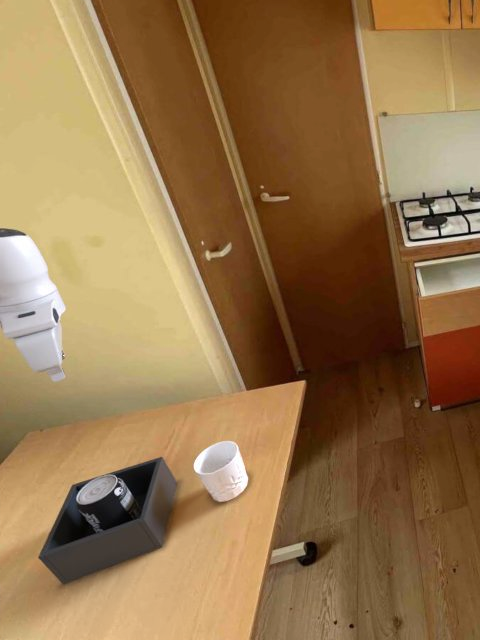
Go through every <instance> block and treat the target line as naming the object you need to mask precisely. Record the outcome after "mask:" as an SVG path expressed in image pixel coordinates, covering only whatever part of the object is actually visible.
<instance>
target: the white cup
mask: <svg viewBox="0 0 480 640" xmlns="http://www.w3.org/2000/svg"><path fill="white" fill-rule="evenodd" d="M192 467H193V471H194V472H195V474H196V475H197V477H198V478H199V480H200V482H201V484H202V485H203V486H204V488H205V489H206V491H207V492H208V493H209V494H210V495H211V497H212V499H213V500H214V501H216V502H218V503H222V502H223V503H224V502H229V501H230V500H233V499H235V498H237V497H238V496H240V495H241V493H243V492H244V490H245V489H246V487H247V486H248V482H249V476H248V474H247V472H246V467H245V464H244V459H243V457H242V454H241V452H240V448H239V446H238V444H237V443H236V442H235V441H232V440H223V441H219V442H216V443H213V444H212V445H209V446H208V447H206V448H205V449H203V451H201V452H200V453H199V454H198V456H197V457H196V458H195V460H194V462H193V466H192Z"/></svg>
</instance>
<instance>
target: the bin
mask: <svg viewBox="0 0 480 640" xmlns="http://www.w3.org/2000/svg"><path fill="white" fill-rule="evenodd" d="M104 475H114V476H116V477H117V478H120V479H122V480H123V482H124V483H125V485H126V486H127V488H128V489H129V491H130V492H131V494H132V495H133V497H134V498H135V500H136V501H137V503H138V504H139V506H140V507H141V509H142V513H141V517H140V518H139V519H136V520H133V521H130V522H127V523H125V524H122V525H119V526H116V527H113V528H110V529H108V530H105V531H102V532H99V533H97V532H96V531H95V530H94V529H93V527H92V526H91V525H90V523H89V522H88V521H87V520H86V518H85V517H84V516H83V515H82V513H81V512H80V511H79V509H78V508H77V500H76V497H77V494H78V493H79V491H80V490H81V489H82V488H83V487H84V486H85V485H86V484H88V483H89V482H91V481H92V480H94V479H96V478H98V477H101V476H104ZM177 486H178V481H177V479H176V478H175V476H174V475H173V473H172V471H171V469H170V467H169V466H168V464H167V463H166V461H165V458H164V457H163V456H159V457H156V458H153V459H150V460H147V461H143V462H140V463H137V464H134V465H131V466H127V467H125V468H120V469H118V470H114V471H111V472H109V473H105V474H103V475H99V476H96V477H93V478H89V479H86V480H83V481H80V482H77V483H73V484H71V486H70V488H69V491H68V493H67V495H66V497H65V499H64V501H63V504H62V506H61V507H60V510H59V512H58V514H57V516H56V519H55V520H54V522H53V525H52V527H51V529H50V531H49V533H48V535H47V537H46V540H45V541H44V544H43V546H42V548H41V550H40V552H39V554H38V557H37V558H38V559H39V561H40V562H41V563H42V564H43V565H44V566H45V567H46V568H47V569H48V570H49V571H50V572H51V573H52V574H53V575H54V577H55V578H56V579H57V580H58V581H59V582H60V583H61V585H66V584H69V583H72V582H73V581H76V580H77V581H78V580H79V579H82V578H84V577H87V576H90V575H92V574H95V573H98V572H100V571H102V570H105V569H108V568H111V567H113V566H116V565H118V564H121V563H124V562H126V561H130V560H132V559H135V558H137V557H139V556H142V555H144V554H148V553H150V552H153V551H155V550H158V549H161V548H163V545H164V542H165V541H164V540H165V538H166V537H165V536H166V533H167V529H168V524H169V520H170V515H171V511H172V507H173V503H174V499H175V494H176V491H177Z"/></svg>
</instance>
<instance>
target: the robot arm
mask: <svg viewBox="0 0 480 640" xmlns="http://www.w3.org/2000/svg"><path fill="white" fill-rule="evenodd" d="M66 310H67V307H66V305H65V302H64V300H63V298H62V296H61V294H60V291H59V289H58V287H57V285H56V284H55V283H54V282H53V281H52V280H51V278H50V275H49V267H48V264H47V263H46V261H45V258H44V256H43V255H42V253H41V251H40V249H39V247H38V246H37V244H36V243H35V242H34V240H33V239H32V237H31V236H30V235H28V234H27V233H25V232H23V231H20V230H18V229H14V228H4V227H3V228H1V227H0V328H1V331H2V334H3V335H4V337H5V339H6V340H10V339H12V341H13V343H14V345H15V347H16V348H17V350H18V351H19V353H20V354H21V356H22V357H23V359H24V361H25V362H26V364H27V365H28V366H29V368H30V369H31V370H32V371H33V372H35V373H37V374H38V373H39V374H40V373H43V372H45V373H47V375H48V376H49V377H50V380H51V381H52V382H53V383H57V382H61V381H63V380H65V379H66V373H65V371H64V368H62V365H63V360H65V359H66V354H65V351H64V349H63V326H62V324H61V319H62V318H61V316H62V315H63V314H64V312H66Z"/></svg>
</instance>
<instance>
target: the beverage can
mask: <svg viewBox="0 0 480 640" xmlns="http://www.w3.org/2000/svg"><path fill="white" fill-rule="evenodd" d="M103 475H104V476H102V475H100V476H101V477H98V476H97V477H98V478H96V479H94V480H92V481H91V482H89V483H88V484H86V485H85V486H84V487H83V488H82V489H81V490H80V491H79V493H78V494H77V497H76V500H77V508H78V509H79V511H80V512H81V513H82V515H83V516H84V517H85V518H86V520H87V521H88V522H89V523H90V525H91V526H92V527H93V529H94V530H95V531H96V532H97V533H99V532H102V531H105V530H108V529H110V528H113V527H116V526H119V525H122V524H125V523H127V522H130V521H133V520H136V519H139V518H140V517H141V513H142V509H141V507H140V506H139V504H138V503H137V501H136V500H135V498H134V497H133V495H132V494H131V492H130V491H129V489H128V488H127V486H126V485H125V483H124V482H123V480H122V479H120V478H117V477H116V476H114V475H105V474H103Z"/></svg>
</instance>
